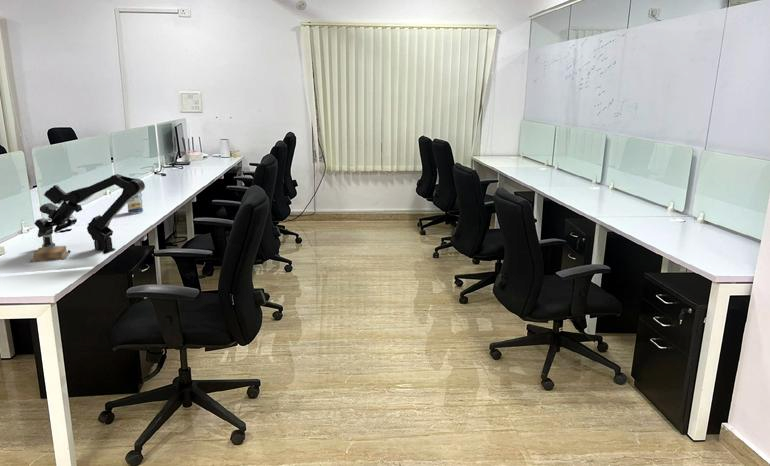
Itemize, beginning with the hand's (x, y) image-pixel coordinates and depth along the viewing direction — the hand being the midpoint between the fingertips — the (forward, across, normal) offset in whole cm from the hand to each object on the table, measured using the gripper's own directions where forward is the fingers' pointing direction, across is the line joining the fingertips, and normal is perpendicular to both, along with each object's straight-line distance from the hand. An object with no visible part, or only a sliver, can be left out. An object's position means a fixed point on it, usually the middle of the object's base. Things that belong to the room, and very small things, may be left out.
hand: (46, 234), depth 245 cm
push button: (+5, 0, +6) cm, 7 cm away
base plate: (-3, +12, +13) cm, 18 cm away
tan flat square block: (-4, +12, +13) cm, 18 cm away
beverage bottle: (+14, -80, -3) cm, 81 cm away
